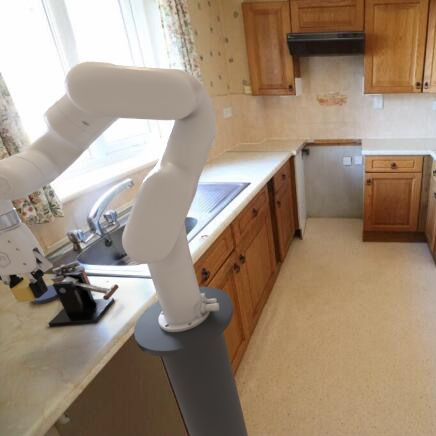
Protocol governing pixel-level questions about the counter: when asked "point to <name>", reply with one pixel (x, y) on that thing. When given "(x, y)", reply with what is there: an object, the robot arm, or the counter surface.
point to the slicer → (78, 303)
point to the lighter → (67, 269)
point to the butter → (23, 291)
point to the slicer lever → (93, 287)
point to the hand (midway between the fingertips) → (32, 294)
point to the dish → (47, 296)
